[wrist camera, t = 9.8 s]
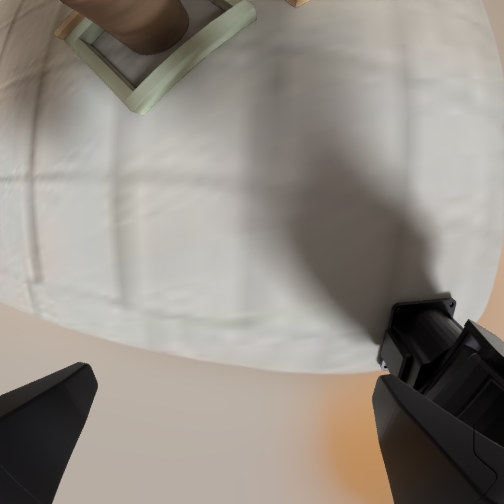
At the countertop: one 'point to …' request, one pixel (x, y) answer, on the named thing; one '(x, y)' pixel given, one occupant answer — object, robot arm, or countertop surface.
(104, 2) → the pepper mill
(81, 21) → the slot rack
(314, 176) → the countertop surface
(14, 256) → the countertop surface
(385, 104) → the countertop surface
